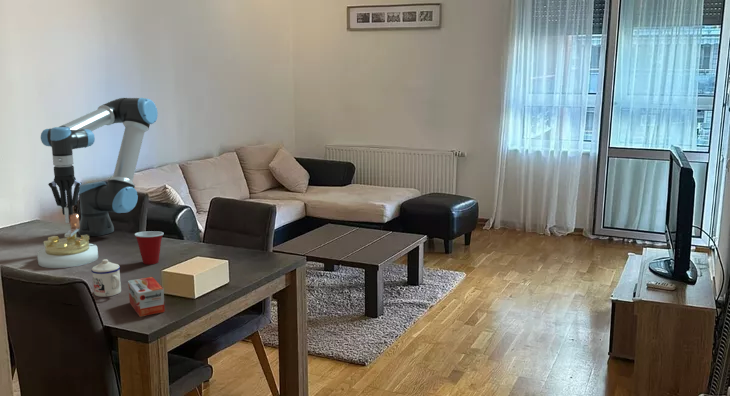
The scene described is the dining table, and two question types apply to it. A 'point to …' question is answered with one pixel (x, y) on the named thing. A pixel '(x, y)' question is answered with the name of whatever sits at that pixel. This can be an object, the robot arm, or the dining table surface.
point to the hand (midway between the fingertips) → (68, 222)
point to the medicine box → (146, 296)
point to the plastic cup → (149, 246)
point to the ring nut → (68, 240)
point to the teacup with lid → (106, 279)
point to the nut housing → (67, 258)
